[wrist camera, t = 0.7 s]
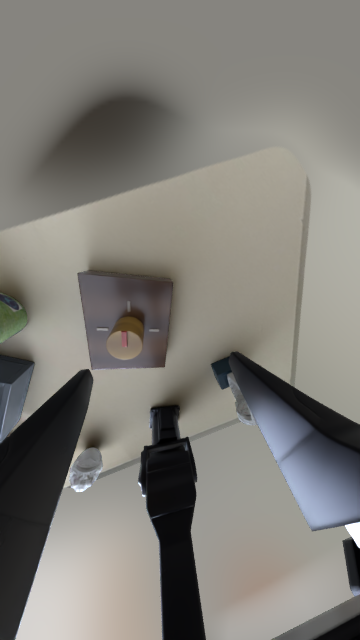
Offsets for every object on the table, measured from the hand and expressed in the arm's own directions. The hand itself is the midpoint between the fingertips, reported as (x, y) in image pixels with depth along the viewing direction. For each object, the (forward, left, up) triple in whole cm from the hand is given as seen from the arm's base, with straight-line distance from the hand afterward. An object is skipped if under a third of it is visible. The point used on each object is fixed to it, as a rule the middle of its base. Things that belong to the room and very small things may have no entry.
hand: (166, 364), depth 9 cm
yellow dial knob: (-4, +4, -11) cm, 13 cm away
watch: (-14, -15, -15) cm, 25 cm away
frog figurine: (-37, +13, -15) cm, 41 cm away
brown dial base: (-4, +4, -14) cm, 15 cm away
